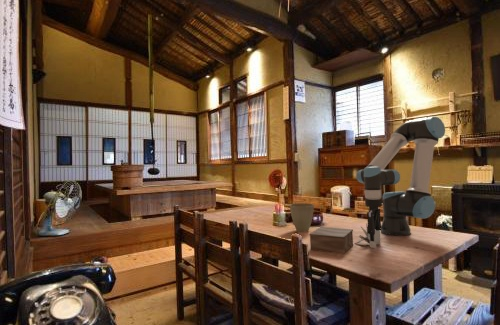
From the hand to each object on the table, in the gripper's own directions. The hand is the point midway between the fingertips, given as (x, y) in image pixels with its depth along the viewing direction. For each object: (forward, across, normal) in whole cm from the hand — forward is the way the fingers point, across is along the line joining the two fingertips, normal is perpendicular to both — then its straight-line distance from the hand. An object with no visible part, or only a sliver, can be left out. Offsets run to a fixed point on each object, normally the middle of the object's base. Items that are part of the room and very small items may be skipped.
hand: (375, 245), depth 142 cm
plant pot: (+1, -12, -46) cm, 47 cm away
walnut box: (+1, +12, -17) cm, 21 cm away
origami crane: (+1, +1, -5) cm, 5 cm away
